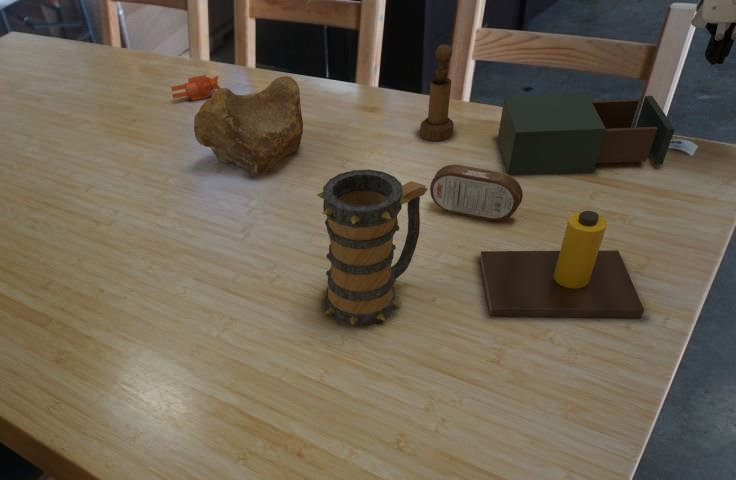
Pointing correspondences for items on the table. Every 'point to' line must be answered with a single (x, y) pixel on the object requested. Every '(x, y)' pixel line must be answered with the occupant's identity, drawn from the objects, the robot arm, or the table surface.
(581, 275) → the yellow bottle
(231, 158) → the rough brown rock
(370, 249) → the mug
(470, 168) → the tin
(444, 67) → the mortar and pestle
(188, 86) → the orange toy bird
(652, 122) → the drawer
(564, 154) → the cabinet
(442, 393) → the table surface
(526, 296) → the board
